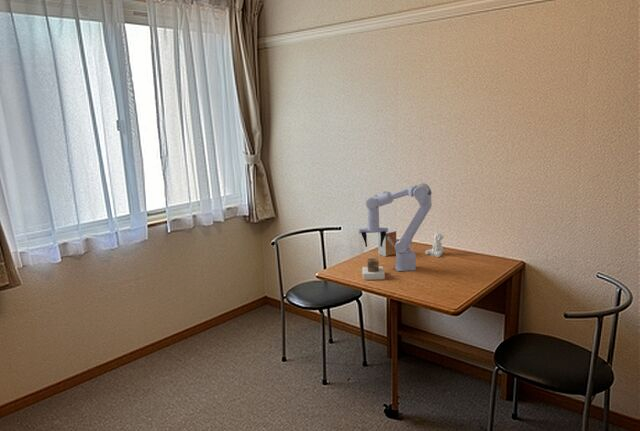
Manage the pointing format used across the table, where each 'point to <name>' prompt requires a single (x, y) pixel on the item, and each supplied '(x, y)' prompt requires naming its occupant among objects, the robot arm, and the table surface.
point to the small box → (387, 243)
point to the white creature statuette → (436, 246)
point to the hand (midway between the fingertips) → (373, 246)
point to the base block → (373, 274)
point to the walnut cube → (373, 265)
